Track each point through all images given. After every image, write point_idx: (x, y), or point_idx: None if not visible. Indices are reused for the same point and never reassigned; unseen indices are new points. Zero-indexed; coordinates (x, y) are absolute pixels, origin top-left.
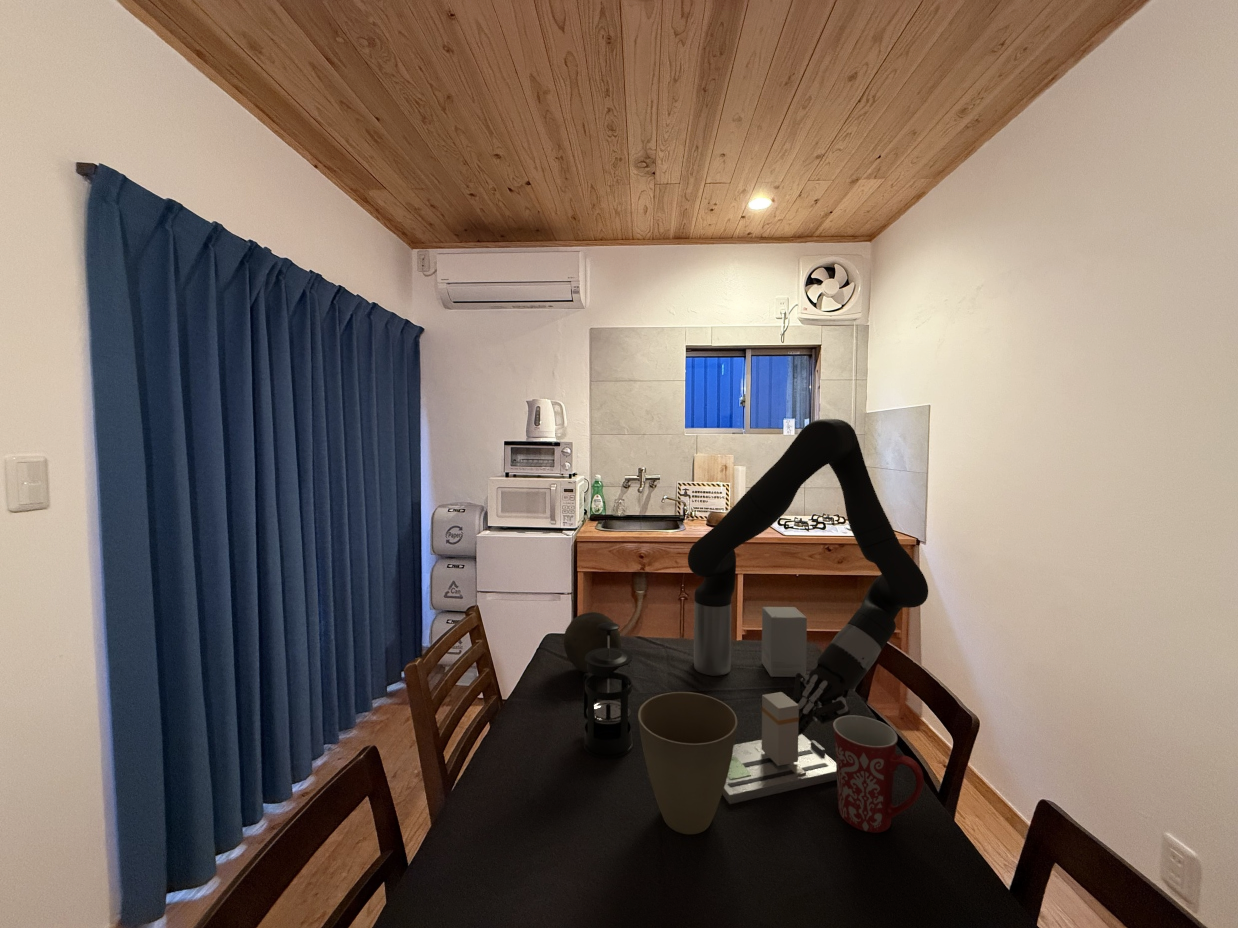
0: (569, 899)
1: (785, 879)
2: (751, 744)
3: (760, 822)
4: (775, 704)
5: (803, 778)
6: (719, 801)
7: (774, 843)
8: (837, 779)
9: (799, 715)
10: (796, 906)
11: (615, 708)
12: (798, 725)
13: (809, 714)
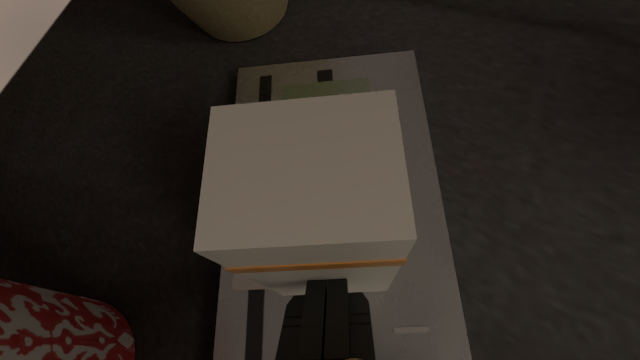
0: None
1: (59, 99)
2: (425, 204)
3: (177, 116)
4: (258, 111)
5: (221, 270)
6: (178, 6)
7: (123, 117)
8: (42, 291)
9: (313, 339)
10: (19, 92)
11: None
12: (295, 314)
13: None
